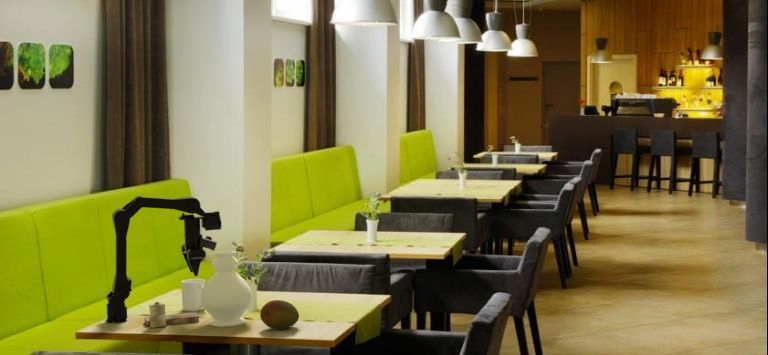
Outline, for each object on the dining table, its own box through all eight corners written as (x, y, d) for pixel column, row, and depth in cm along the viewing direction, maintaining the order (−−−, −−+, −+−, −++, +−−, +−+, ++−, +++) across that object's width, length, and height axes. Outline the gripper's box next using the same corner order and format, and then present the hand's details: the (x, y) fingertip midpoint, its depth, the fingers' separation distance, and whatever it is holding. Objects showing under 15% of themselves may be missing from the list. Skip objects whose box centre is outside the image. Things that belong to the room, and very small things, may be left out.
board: (147, 326, 387) (146, 320, 387) (144, 322, 393) (144, 316, 393) (198, 321, 393) (198, 316, 392) (195, 317, 399) (195, 312, 399)
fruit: (255, 329, 378) (254, 300, 377) (281, 323, 388) (280, 294, 387) (279, 334, 371) (278, 304, 370) (305, 327, 380) (304, 298, 379)
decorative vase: (232, 330, 378) (229, 257, 376) (191, 325, 387) (188, 254, 385) (262, 319, 394) (260, 249, 391) (222, 315, 402) (220, 246, 400)
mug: (198, 313, 407) (196, 284, 406) (177, 309, 415) (176, 281, 414) (216, 309, 413) (215, 281, 412) (196, 305, 421) (195, 277, 420)
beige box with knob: (151, 327, 384) (150, 303, 383) (147, 322, 393) (146, 298, 392) (165, 326, 386) (164, 302, 385) (162, 320, 395) (161, 297, 394)
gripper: (219, 233, 398) (220, 276, 399) (210, 227, 415) (211, 268, 417) (187, 235, 394) (189, 278, 395) (180, 228, 412) (181, 270, 413)
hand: (194, 274), depth 405 cm, fingers open, 9 cm apart
